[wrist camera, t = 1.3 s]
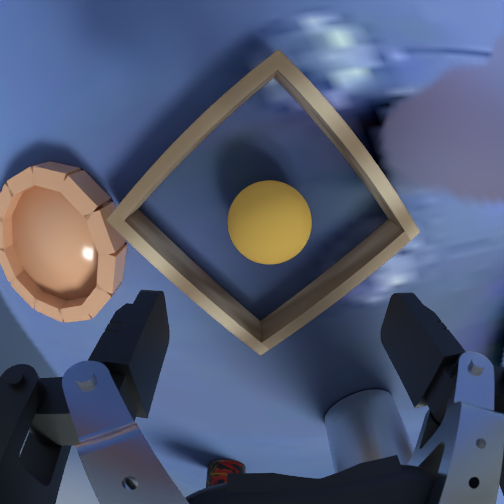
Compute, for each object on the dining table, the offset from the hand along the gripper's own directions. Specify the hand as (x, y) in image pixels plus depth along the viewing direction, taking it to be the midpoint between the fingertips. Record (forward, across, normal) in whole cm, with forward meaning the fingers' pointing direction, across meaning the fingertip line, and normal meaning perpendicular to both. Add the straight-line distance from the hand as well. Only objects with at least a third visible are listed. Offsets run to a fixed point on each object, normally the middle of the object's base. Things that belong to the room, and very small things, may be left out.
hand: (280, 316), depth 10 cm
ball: (+10, 0, 0) cm, 10 cm away
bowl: (+13, +18, +3) cm, 23 cm away
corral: (+13, 0, 0) cm, 13 cm away
